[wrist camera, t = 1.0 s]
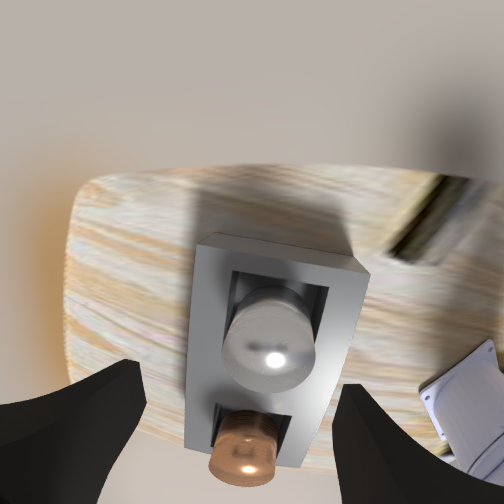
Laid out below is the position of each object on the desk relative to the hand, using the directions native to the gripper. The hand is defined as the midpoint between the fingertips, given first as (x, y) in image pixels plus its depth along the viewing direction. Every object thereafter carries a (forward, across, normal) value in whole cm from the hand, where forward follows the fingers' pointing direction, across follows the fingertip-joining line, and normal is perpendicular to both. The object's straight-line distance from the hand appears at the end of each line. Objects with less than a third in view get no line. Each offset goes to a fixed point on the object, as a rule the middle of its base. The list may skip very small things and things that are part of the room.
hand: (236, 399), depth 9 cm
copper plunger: (+7, 0, +9) cm, 11 cm away
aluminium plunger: (+7, -1, 0) cm, 7 cm away
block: (+10, 0, +4) cm, 11 cm away
